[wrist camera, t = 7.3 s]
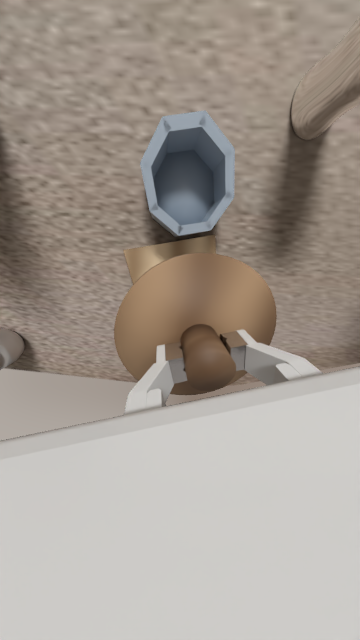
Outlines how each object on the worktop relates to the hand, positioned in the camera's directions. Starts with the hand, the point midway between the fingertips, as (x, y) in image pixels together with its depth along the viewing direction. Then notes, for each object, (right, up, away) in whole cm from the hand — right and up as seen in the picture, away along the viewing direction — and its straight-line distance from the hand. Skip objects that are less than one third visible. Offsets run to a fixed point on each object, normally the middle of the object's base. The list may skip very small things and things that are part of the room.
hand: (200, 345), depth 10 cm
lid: (0, +1, +1) cm, 2 cm away
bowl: (-1, +19, +11) cm, 22 cm away
